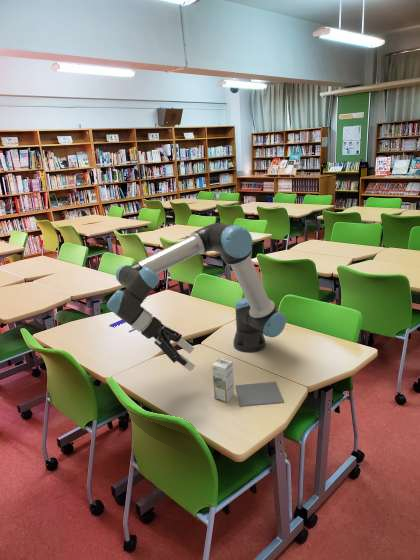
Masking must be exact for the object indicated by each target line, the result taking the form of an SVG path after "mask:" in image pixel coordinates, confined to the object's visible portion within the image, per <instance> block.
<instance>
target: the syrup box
mask: <svg viewBox="0 0 420 560" xmlns="http://www.w3.org/2000/svg"><path fill="white" fill-rule="evenodd" d="M211 365H212V366H211V367H212V381H213V382H212V383H213V394H214V397H213V398H214V399H215V400H218V401H221V402H226V403H228V402H229V401H230V400H232V398H233V397H234V396H235V386H234V385H235V384H234V367H233V361H231V360H228V359H223V358H219V359H217V360H215V361H214V362H213V363H212V364H211Z"/></svg>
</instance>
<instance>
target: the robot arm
mask: <svg viewBox="0 0 420 560" xmlns="http://www.w3.org/2000/svg"><path fill="white" fill-rule="evenodd" d="M253 243H254V242H253V238H252V234H251V233H250V231H248V229H247V228H245V227H243V226H239V225H236V224H227V223H223V222H216V223H215V222H214V223H211V224H208V225H206V226H205V225H204V226H203V227H201V228H199V229H197V230H195V231H193V232H190V235H189V236H188V237H186V238H184V239H183V240H180V241H178V242H176V243H174V244H172V245H170V246H168V247H166V248H164V249H161V250H160V251H158V252H155V253H153V254H152V255H149V256H147V257H146V258H143V259H141V260H139V261H138V262H134V263H133V264H131V265H129V264H128V265H127V264H126V265H120V266H119V268H117V270H116V272H115V278H116V281H117V282H118V283H119V284H120V285H122V286H123V287H125V289H124V290H121V289H117V290H116V291H114V293H113V294H112V296H111V297H110V298H109V300H108V301H107V302H106V307H107V309H109V310H110V311H111V312H112V313H113V314H115V315H116V316H117V317H118V318H120V320H124V321H125V322H126V323H127V324H128V325H129V326H131V329H132V330H133V329H136V330H135V331H137V332H140V334H141V335H143V336H144V337H145V338H146V339H148V340H149V339H152V338H154V339H155V340H154V343H153V344H155V345H156V346H157V347H158V348H160V350H161V351H162V352H163V353H164V354H165V356H167V358H168V359H169V360H171V362H172V363H174V364H176V362H177V363H179V365H182V367H183V368H185V369H186V370H188V371H189V372H191V371H192V370H193V369H194V368H195V367H196V364H195V363H193V362H192V361H191V360H190V359H188V358H187V357H185V355H184V354H180V353H179V352H178V351H177V349H176V348H175V346H174V345H173V344H172V343H171V341H172V342H175V343H176V345H178V346H179V347H180V348H182V349H183V350H184V351H185V352H187V354H191V353H192V352H193V351H194V350H195V347H194V346H193V345H192V344H190V343H189V342H188V341H186V340H185V339H183V338H182V337H183V335H182V334H181V333H179V332H178V331H176V330H174V329H172V328H170V327H168V326H167V325H164V324H163V323H162V321H161V320H160V319H158V318H157V317H156V316H153V314H152V313H151V312H150V311H148V310H147V309H146V308H144V307H143V306H142V304H143V303H144V301H145V300H146V299H147V297H148V296H149V295H150V294H151V293H152V292H153V290H154V289H155V288H156V286H157V285H158V283H159V282H160V279H161V278H160V277H159V274H160V273H162V272H164V271H166V270H168V269H170V268H172V267H175V266H176V265H179V264H181V263H182V262H184V261H186V260H188V259H190V258H192V257H194V256H196V255H204V254H205V253H207V252H216V253H220V255H221V258H222V259H223V261H224V263H225V264H226V265H228V266H230V267H231V269H232V271H233V274H234V275H235V277H236V280H237V282H238V285H239V287H240V289H241V291H242V293H243V295H244V297H243V298H239V299H237V300H236V302H235V304H234V305H235V307H234V309H235V324H236V325H235V328H236V329H235V330H236V331H235V335H234V338H233V348H234V347H235V348H234V349H235V350H237V351H240V352H244V353H253V352H259V351H261V350H264V348H265V347H266V344H267V343H266V338H265V337H269V338H277V337H278V336H280V335H281V333H283V331H284V329H285V326H286V324H287V317H286V315H285V314H284V313H283V312H282V311H279V310H278V309H277V306H276V304H275V302H274V301H273V300H271V299H270V298H269V296H268V295H267V293H266V289H265V288H264V285H263V283H262V280H261V279H260V276H259V273H258V272H257V269H256V267H255V264H254V262H253V260H252V258H251V255H252V253H253V246H252V245H253Z"/></svg>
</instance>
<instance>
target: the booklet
mask: <svg viewBox="0 0 420 560" xmlns="http://www.w3.org/2000/svg"><path fill="white" fill-rule="evenodd" d="M125 323H127V322H125V321H124V320H122V319H120V320H118V321H116V322H114V323H113V322H112V323H111V324H109V325H108V326H109V327H112V328H115V329H116V328H117V327H119V326H120V324H121V325H123V324H125ZM117 325H118V326H117ZM114 326H115V327H114ZM116 326H117V327H116ZM134 331H137V330H136V329H135V328H134V329H133V328H132V329H130V330H128V331H127V332H128V333H131V332H134Z"/></svg>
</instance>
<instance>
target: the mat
mask: <svg viewBox="0 0 420 560" xmlns="http://www.w3.org/2000/svg"><path fill="white" fill-rule="evenodd" d="M234 385H235V386H234V388H235V391H236V395H237V399H238V403H239V407H250V406H260V405H264V406H265V405H273V404H282V403H285V400H284V398H283V396H282V394H281V391H280V389H279V387H278V386H279V385H278V384H277V382H276V381H271V382H270V381H268V382H256V383H246V384H234Z"/></svg>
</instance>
